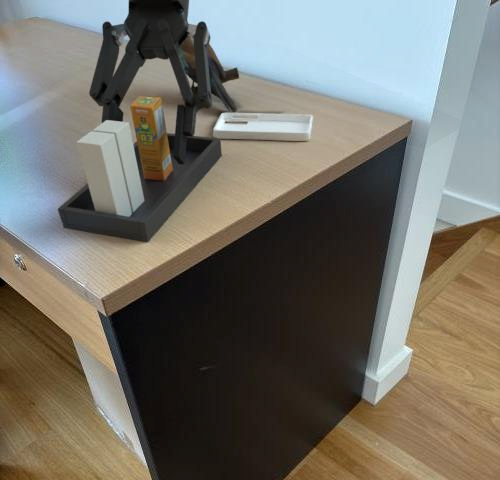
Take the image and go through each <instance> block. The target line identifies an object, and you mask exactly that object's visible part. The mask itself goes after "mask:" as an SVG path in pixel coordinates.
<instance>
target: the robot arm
mask: <svg viewBox="0 0 500 480" xmlns="http://www.w3.org/2000/svg"><path fill="white" fill-rule="evenodd" d="M189 8H190V0H128V11H127V12H128V14H127V15H126V18H125V20H124V21H123V23H120V24H114V25H112V23H111V22H110V21H104V22H103V23H102V24H101V25H102V27H101V28H102V29H101V30H102V42H101V46H100V50H99V53H98V58H97V62H96V66H95V69H94V71H93V72H94V73H93V75H92V76H93V77H92V80H91V84H90V88H89V92H88V95H89V96H90V98H91V99H92V100H93V101H94V102H95V103H96V104H97V106H99V107H102V114H101V124H102V123H103V122H104V121H106V120H111V121H120V122H124V114H125V113H124V111H123V110H122V109H121V108H120V106H121V104H122V102H123V100H124V99H125V97H126V95H127V92H128V91H129V89H130V87H131V85H132V83H133V82H134V80H135V78H136V76H137V74H138V71H139V70H140V68H141V67H143V66H144V65H145V63H146V61H147V60H153V59H161V60H168V61H169V62H170V66H171V68H172V71H173V75H174V77H175V80H176V82H177V85H178V88H179V91H180V95H181V97H182V102H184V104H179V103H178V104H177V107H176V117H175V127H174V128H175V129H174V134H175V139H174V150H173V157H174V158H175V160H176V161H177V162H178V164H185V154H186V143H187V136H188V137H193V136H195V133H196V124H197V123H196V122H197V114H198V112H199V111H200V110H202V109H206V110H207V109H210V108H212V104H213V100H212V99H213V98H212V94H211V88H210V77H209V66H208V55H207V50H208V46H209V44H210V42H211V34H210V30H209V29H208V26H207V23H206V22H205V21H203V20H202V21H198V23H197V24H192V23H189V21H188V18H189ZM188 36H190V38H191V41H192V43H193V44H194V53H195V64H196V75H197V83H196V86H198V94H197V95H193V92H192V89H191V86H192V85H191V84H190V81H189V77H188V75H187V74H186V72H185V69H184V66H183V63H182V60H181V57H180V54H179V51H178V49H179V47H180V46H181V45H182V44H183V42H184V41H185V40H186V39H187V37H188ZM125 37H128V38H129V40H128V41H127V43H126V45H125V48H124V54H123V56H122V58H121V60H120V62H119V64H118V66H117V62H118V59H119V54H120V47H121V46H123V41H124V38H125ZM116 66H117V68H116Z"/></svg>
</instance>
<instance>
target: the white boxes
mask: <svg viewBox="0 0 500 480" xmlns="http://www.w3.org/2000/svg"><path fill="white" fill-rule="evenodd" d="M133 144H134V141H133V135H132V130H131V126H130V122H129V121H123V122H120V121H111V120H106V121H104V122H103V123H102V122H101V123H100V124H99V125H98V126H96V127H95V128H94V129H92V131H91V130H90V131H89V132H88V133H86V134H85V135H84V136H82V137H81V138H80V139H78V140H77V141H76V147H77V150H78V153H79V157H80V160H81V164H82V168H83V171H84V175H85V178H86V182H87V183H88V186H89V189H90V193H91V197H92V200H93V204H94V207H95V211H97V212H103V213H109V214H116V215H122V216H128V217H130V216H131V214H132V212H134V211H135V210H136V209H137V208H138V207H139V206H140V205H141V204H142V203H143V202H144V196H143V191H142V186H141V181H140V176H139V171H138V166H137V161H136V156H135V151H134V146H133Z"/></svg>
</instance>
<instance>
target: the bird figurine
mask: <svg viewBox="0 0 500 480" xmlns="http://www.w3.org/2000/svg"><path fill="white" fill-rule="evenodd" d="M178 51H179V54H180V57H181V60H182V63H183V66H184V69H185V72H186V75H187V77H188V79H191V81H192V83H191V85H190V86H191V89H192V92H193V95H197V94H198V86H197V85H196V86H195V84H197V75H196V64H195V53H194V44H193V43H192V41H191V38H190V36H188V37H187V39H186V40H185V41H184V42H183V44H182V45H181V46H180V47H179V49H178ZM207 55H208V66H209V77H210V88H211V95H213V96H215V97H217V98H218V99H219V100H220V101H221V103H222V104H223V105H224V107H225V108H226V109H227V110H228V112H229V113H237V111H238V110H239V109H238V107H237V105H236V104H235V102H234V100H233V99H232V98H231V96H230V94H229V93H228V92H227V89H226V88H225V86H224V85H223V84H225V83H228V82H230V81H235V80H239V79H240V73H239V68H238V67H237V66H236V67H234V68H231V69H228V70H225V68H224V67H223V65H222V63H221V62H220V59H219V58H218V56H217V53H216V52H215V50H214V48H213V47H212V45H211V44H210V43H209V46H208V50H207Z"/></svg>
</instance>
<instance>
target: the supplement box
mask: <svg viewBox="0 0 500 480" xmlns="http://www.w3.org/2000/svg"><path fill="white" fill-rule="evenodd" d="M129 107H130V113H131V117H132V124H133V128H134V133H135V139H136V141H137V144H138V149H139V155H140V160H141V165H142V170H143V175H144V179H150V180H161V181H165V180H166V179H167V177H168V176H169V175H170V173H171V172H172V170H173V168H172V162H171V156H170V150H169V144H168V137H167V133H168V132H167V131H168V130H167V126H166V125H167V124H166V119H165V112H164V105H163V100H162V97H159V96H157V97H153V96H143V95H139V96H138V97H137V98H136V99H135V100H134V101H132V103H131V104H130V105H129Z"/></svg>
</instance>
